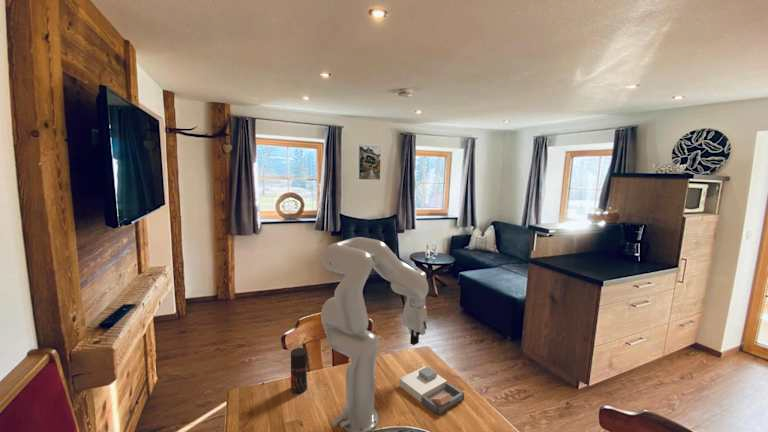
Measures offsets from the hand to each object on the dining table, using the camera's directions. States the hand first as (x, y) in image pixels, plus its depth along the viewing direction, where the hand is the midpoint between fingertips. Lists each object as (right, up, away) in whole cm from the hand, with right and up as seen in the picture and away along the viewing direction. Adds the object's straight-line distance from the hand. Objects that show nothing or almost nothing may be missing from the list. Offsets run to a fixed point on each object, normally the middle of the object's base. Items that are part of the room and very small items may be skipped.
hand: (414, 343), depth 140 cm
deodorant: (-45, -13, -11) cm, 48 cm away
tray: (+9, -15, -15) cm, 24 cm away
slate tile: (+5, -11, -6) cm, 13 cm away
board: (+3, -14, -7) cm, 16 cm away
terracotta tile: (+8, -12, -18) cm, 23 cm away
